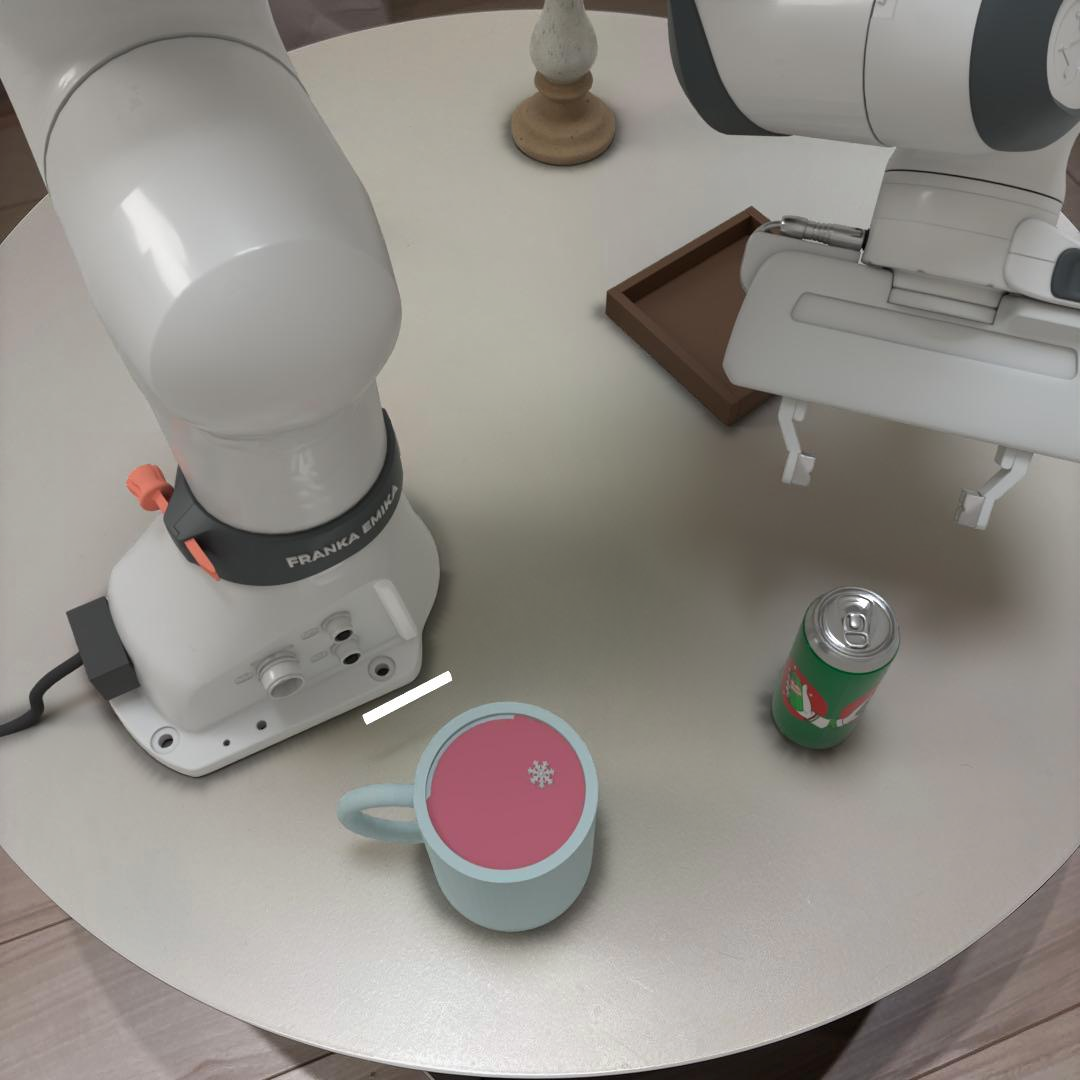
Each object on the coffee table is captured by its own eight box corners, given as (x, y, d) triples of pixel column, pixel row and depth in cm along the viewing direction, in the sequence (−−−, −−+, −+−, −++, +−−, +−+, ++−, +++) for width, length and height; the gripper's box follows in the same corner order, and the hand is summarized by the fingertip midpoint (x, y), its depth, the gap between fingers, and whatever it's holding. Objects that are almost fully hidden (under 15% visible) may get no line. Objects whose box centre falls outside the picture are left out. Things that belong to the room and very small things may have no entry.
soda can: (852, 678, 70) (902, 582, 60) (856, 756, 68) (909, 670, 57) (769, 671, 71) (805, 575, 60) (770, 748, 68) (807, 661, 58)
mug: (593, 772, 67) (599, 704, 59) (591, 934, 62) (596, 886, 54) (362, 765, 68) (334, 696, 59) (342, 925, 63) (308, 876, 54)
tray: (727, 426, 80) (731, 405, 78) (605, 313, 86) (606, 290, 84) (872, 329, 85) (880, 307, 83) (747, 228, 91) (751, 205, 89)
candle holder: (509, 165, 95) (498, -74, 78) (514, 97, 100) (505, -144, 82) (614, 167, 95) (627, -73, 77) (615, 98, 99) (627, -143, 82)
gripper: (752, 202, 57) (688, 467, 61) (1179, 288, 54) (1085, 563, 57) (757, 211, 63) (698, 452, 67) (1141, 288, 60) (1058, 538, 63)
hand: (880, 504), depth 62 cm, fingers open, 8 cm apart
